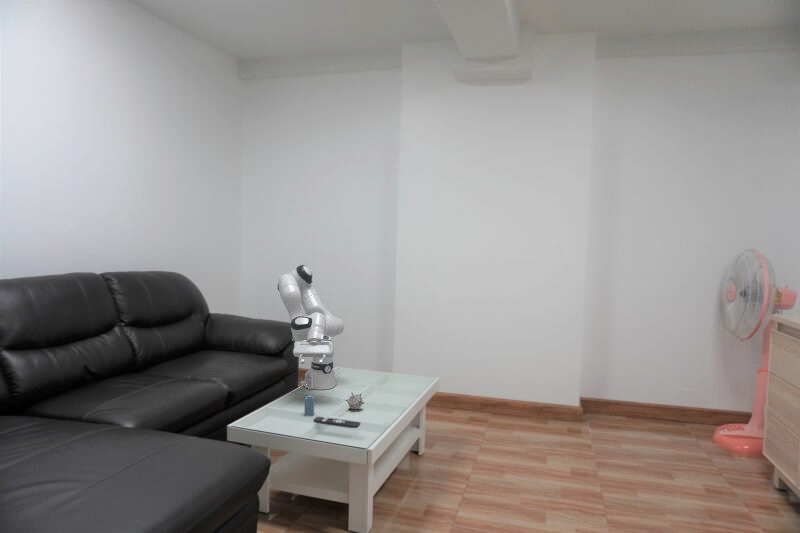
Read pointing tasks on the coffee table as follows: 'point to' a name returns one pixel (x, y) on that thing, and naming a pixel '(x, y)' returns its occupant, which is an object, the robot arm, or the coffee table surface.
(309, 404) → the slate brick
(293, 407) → the coffee table surface
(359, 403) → the twenty-sided die
